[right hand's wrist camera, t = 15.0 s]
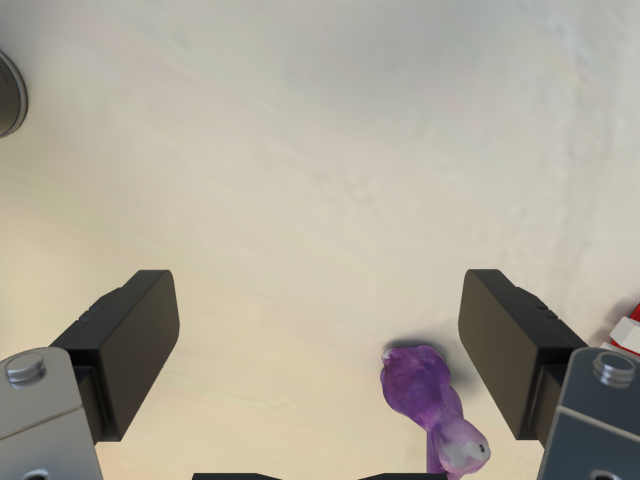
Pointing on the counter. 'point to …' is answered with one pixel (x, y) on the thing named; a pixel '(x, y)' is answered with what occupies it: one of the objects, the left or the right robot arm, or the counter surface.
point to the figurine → (433, 409)
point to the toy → (626, 336)
